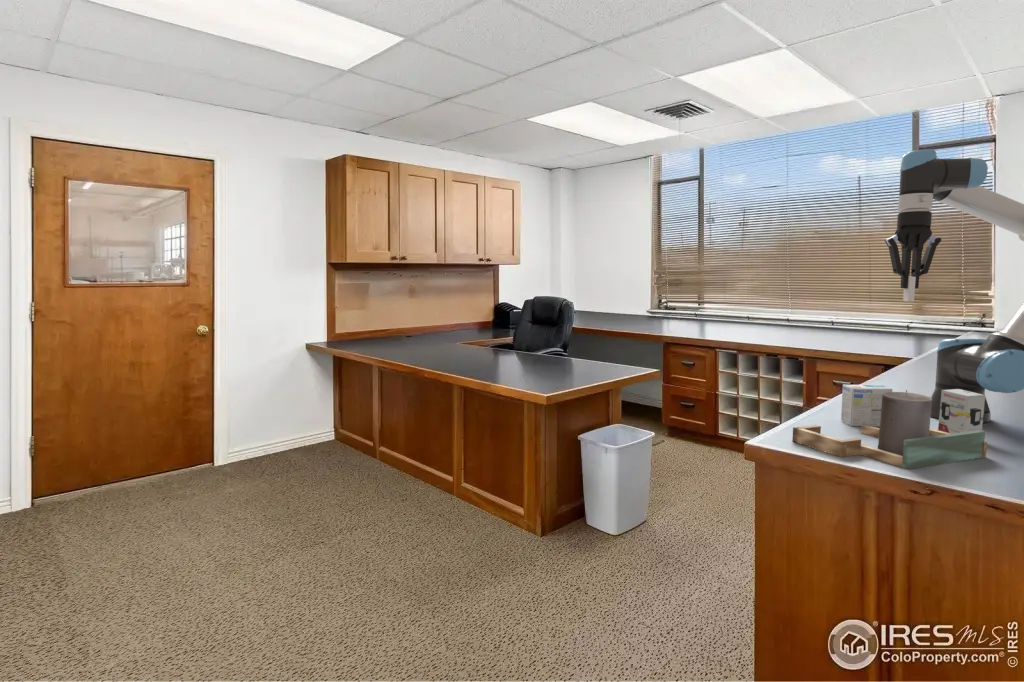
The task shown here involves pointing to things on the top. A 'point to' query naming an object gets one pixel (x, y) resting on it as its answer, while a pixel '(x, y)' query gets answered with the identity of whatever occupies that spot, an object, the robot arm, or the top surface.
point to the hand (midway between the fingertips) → (908, 301)
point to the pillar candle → (903, 419)
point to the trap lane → (915, 451)
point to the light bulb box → (862, 404)
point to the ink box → (961, 411)
